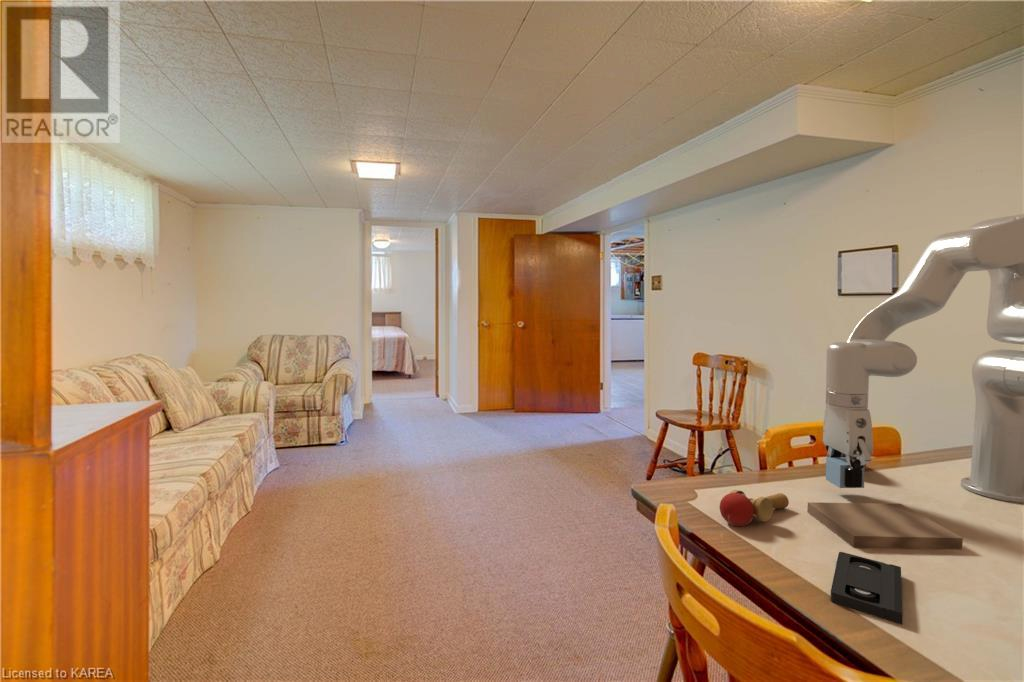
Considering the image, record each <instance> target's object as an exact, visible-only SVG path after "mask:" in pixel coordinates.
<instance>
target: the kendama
mask: <svg viewBox="0 0 1024 682" xmlns="http://www.w3.org/2000/svg"><path fill="white" fill-rule="evenodd" d="M789 504H790V502H789V498H788V497H787V495H785V494H784V493H782V492H779V493H775V494H772V495H767V496H759V497H758V498H756V499H754V498H749V497H747V495H746V494H745V492H744V491H742V490H739V489H733V490H731V491H730V492H729V493H727V494H725V495H724V496H723V497H722V499H721V500H720V503H719V512H720V515H721V516H722V518H723V519H724V520H725V521H726V522H727V523H728V524H730V525H732V526H733V527H744V526H747V525H749V524H750V523H751V522H752V521H753V518H754V516H755V518H756V519H757V520H759V521H760V522H768V521H769V520H770V518H772V515H773V513H774V512H773V509H785V508H787V507H788V506H789Z"/></svg>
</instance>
